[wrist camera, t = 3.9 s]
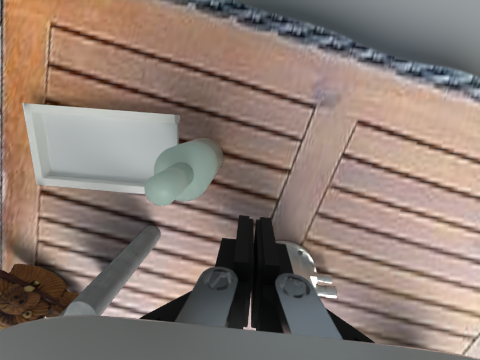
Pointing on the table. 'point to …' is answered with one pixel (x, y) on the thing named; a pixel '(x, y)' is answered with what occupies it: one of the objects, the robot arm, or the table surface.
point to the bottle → (184, 171)
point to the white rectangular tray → (97, 146)
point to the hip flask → (113, 276)
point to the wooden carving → (31, 295)
